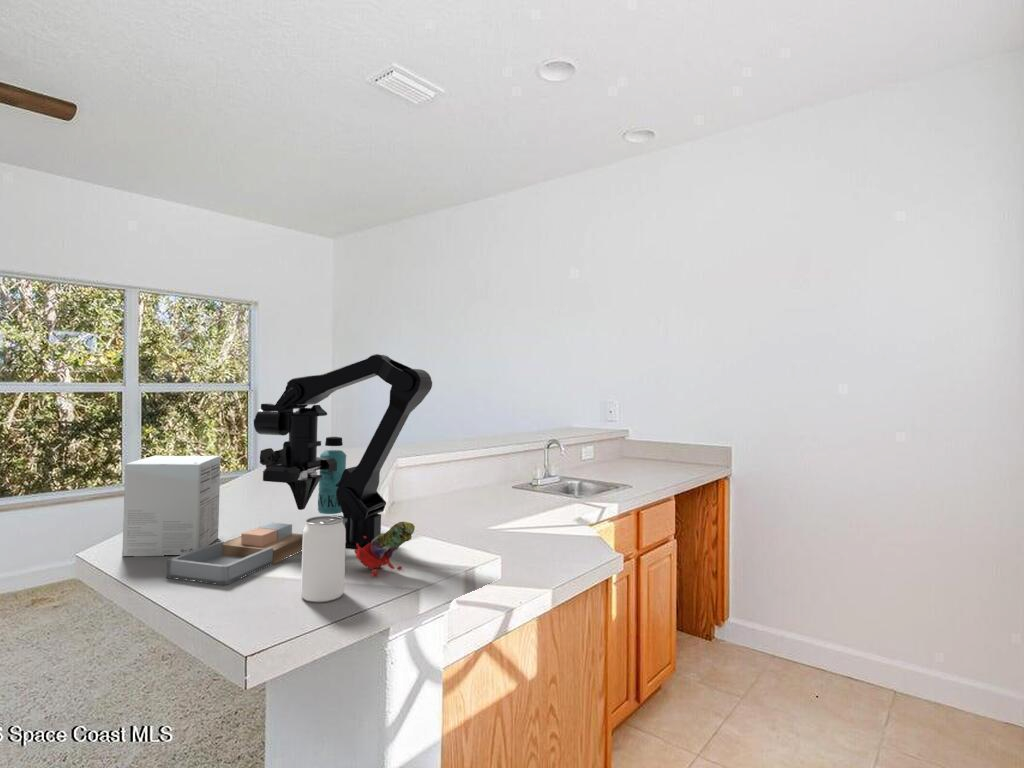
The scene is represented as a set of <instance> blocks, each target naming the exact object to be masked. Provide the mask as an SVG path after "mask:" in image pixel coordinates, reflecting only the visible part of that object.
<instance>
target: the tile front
mask: <svg viewBox="0 0 1024 768" xmlns="http://www.w3.org/2000/svg"><path fill="white" fill-rule="evenodd" d="M240 536H241V544H245V545H254V546H264V545H266V544H269V543H271V542H274V541H276V540H277V530H272V529H263V528H259V527H257V528H253V529H251V530H247V531H245V532H242V533H241V535H240Z"/></svg>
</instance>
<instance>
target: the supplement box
mask: <svg viewBox="0 0 1024 768" xmlns="http://www.w3.org/2000/svg"><path fill="white" fill-rule="evenodd" d="M220 482H221V455H159V454H158V455H152V456H149V457H145V458H141V459H137V460H135V461H130V462H127V463H125V464H124V494H123V496H124V497H123V523H122V526H123V528H122V549H121V550H122V553H121V556H122V557H123V556H134V557H165V556H164V555H183V554H186V553H188V552H191V551H194V550H197V549H200V548H203V547H206V546H208V545H211V544H213V543H214V542H215V541H216V540H217V539H219V525H220V523H219V522H220V521H219V520H220V519H219V518H220V491H221V489H220V488H221V483H220Z"/></svg>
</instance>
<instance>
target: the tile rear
mask: <svg viewBox="0 0 1024 768" xmlns="http://www.w3.org/2000/svg"><path fill="white" fill-rule="evenodd" d="M258 528H263V529H272V530H277V540H279V539H281V538H284V537H286V536H289V535H291V534H292V533H293V524H291V523H280V522H271V523H267V524H264V525H262V526H259V527H258Z"/></svg>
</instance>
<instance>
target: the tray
mask: <svg viewBox="0 0 1024 768" xmlns="http://www.w3.org/2000/svg"><path fill="white" fill-rule="evenodd" d="M223 542H224V541H218V542H215V543H214V542H213V543H211V544H210V545H208V546H206V547H203V548H200V549H197V550H194V551H191V552H188V553H186V554H183V555H180V556H173V557H172V558H169V559H167V560H166V578H167V577H170V578H169V579H172V578H178V579H177V580H179V579H187V580H195V581H202V582H207V583H206V584H210V583H216V584H215V585H217V584H222V585H221V586H228V585H229V584H228V583H230V584H232V583H234V582H236V581H238V580H237V579H239V578H241V577H243V576H245V575H247V576H249V575H248V574H250V573H252V572H254V571H256V572H258V571H260V570H262V569H261V568H263V569H265V568H267V567H269V566H271V565H273V564H272V562H273V548H271V547H269V548H266V549H264V550H261V551H259V552H256V553H254V554H251V555H249V556H247V557H236V556H228V555H223ZM270 564H271V565H270ZM268 565H269V566H268ZM266 566H267V567H266ZM264 567H265V568H264ZM259 569H260V570H259ZM257 570H258V571H257ZM254 573H255V572H254ZM252 574H253V573H252ZM250 575H251V574H250ZM245 577H246V576H245ZM243 578H244V577H243ZM241 579H242V578H241ZM187 580H186V581H187ZM235 580H236V581H235ZM239 580H240V579H239ZM233 581H234V582H233ZM202 582H201V583H202ZM231 582H232V583H231ZM227 584H228V585H227Z"/></svg>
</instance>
